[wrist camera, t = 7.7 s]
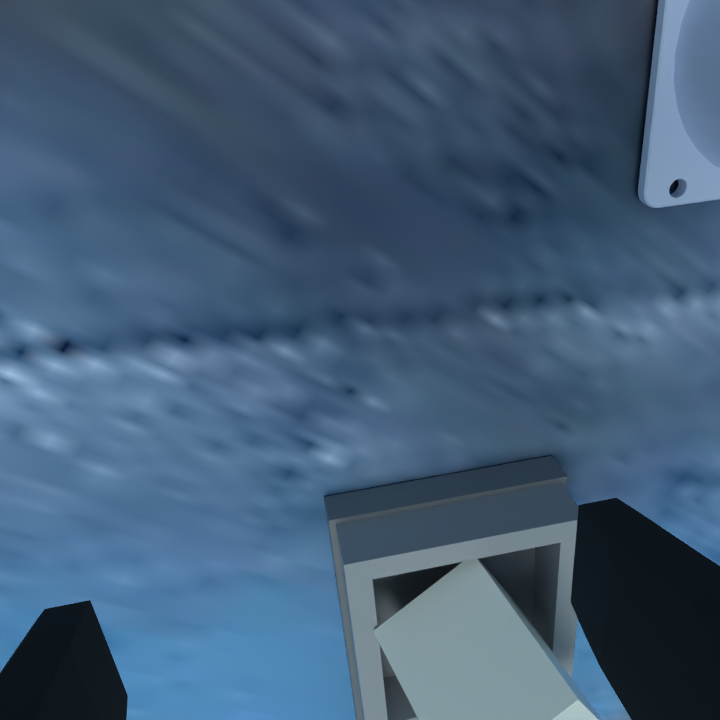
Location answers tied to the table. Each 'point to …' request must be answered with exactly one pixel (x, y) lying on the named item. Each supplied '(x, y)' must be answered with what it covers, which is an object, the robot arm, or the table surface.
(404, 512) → the socket strip
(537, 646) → the grey plug
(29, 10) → the table surface
